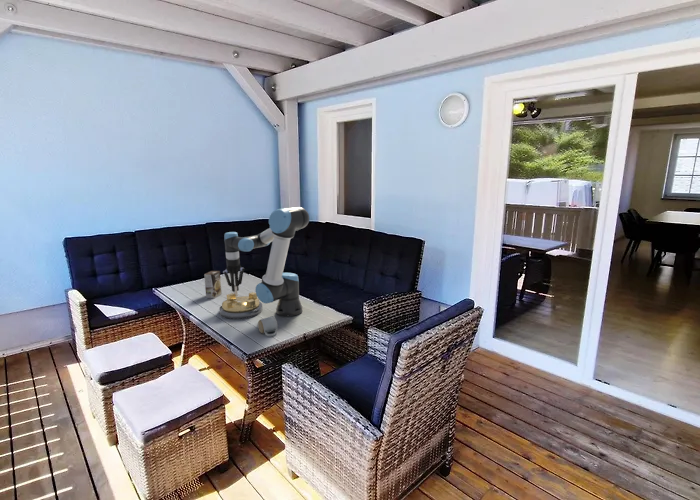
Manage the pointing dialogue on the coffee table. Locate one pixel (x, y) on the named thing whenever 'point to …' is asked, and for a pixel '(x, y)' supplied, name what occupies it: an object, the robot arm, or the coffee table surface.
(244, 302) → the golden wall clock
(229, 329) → the coffee table surface
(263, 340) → the coffee table surface
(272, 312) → the coffee table surface
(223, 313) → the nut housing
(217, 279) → the printed cardboard box
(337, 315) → the coffee table surface
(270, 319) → the ceramic mug
